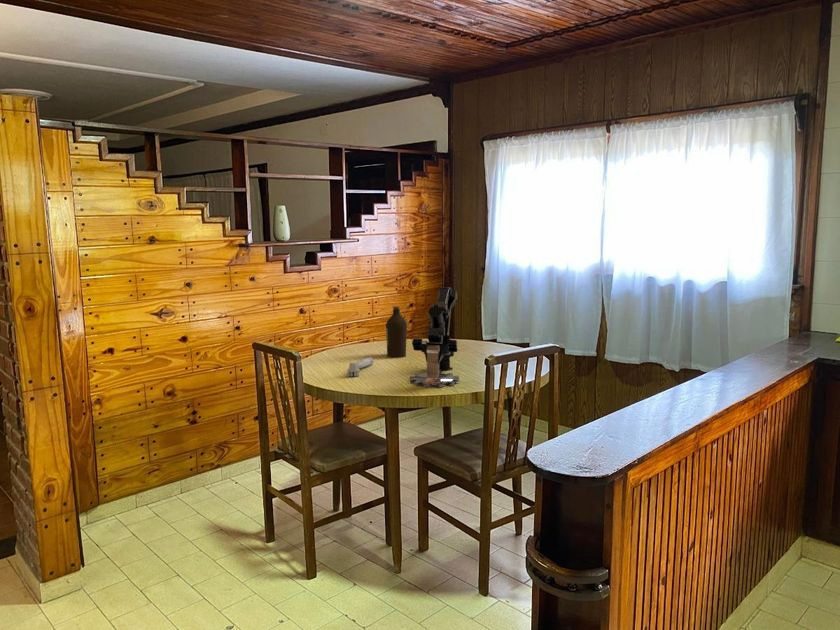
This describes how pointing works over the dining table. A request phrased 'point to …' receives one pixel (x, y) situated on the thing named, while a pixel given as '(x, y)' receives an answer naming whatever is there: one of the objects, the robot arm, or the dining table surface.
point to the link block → (433, 361)
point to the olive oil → (396, 334)
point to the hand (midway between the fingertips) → (432, 362)
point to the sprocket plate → (433, 379)
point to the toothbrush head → (359, 366)
